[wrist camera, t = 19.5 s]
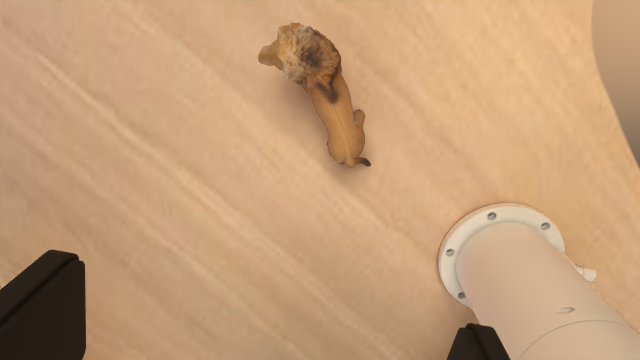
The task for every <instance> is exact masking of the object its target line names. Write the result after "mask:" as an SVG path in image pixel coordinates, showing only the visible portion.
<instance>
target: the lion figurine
mask: <svg viewBox="0 0 640 360" xmlns="http://www.w3.org/2000/svg"><path fill="white" fill-rule="evenodd" d="M258 60H259V62H260V63H261V64H265V65H267V66H272V65H275V66H276V68H278V69H280V70H283V71H284V73H285V74H286V77H287V78H288V79H292V80H293V81H294V82H297V84H300V85H302V87H303V88H304V89H305V90H306V91H307V92H309V93H310V94H311V98H312V101H313V104H314V107H315V109H316V111H317V113H318V115H319V116H320V118H321V120H322V121H323V123H324V124H325V126H326V127H327V129H328V132H329V139H328V142H327V145H328V150H329V154H330V155H331V157H332V158H333V159H334V160H335V161H337V162H338V163H339V164H344V163H346V165H347V166H348V167H350V168H354V167H355V165H356V164H357V163H362V164H364V165H365V166H371V163H370V162H369V161H368V160H367V159H366V158H361V157H359V158H357V157H358V156H359V155H360V154H361V152H362V150H363V148H364V144H365V136H364V131H363V122H364V118H365V114H364V112H363V111H362V110H357V111H355V112H353V109H352V104H351V98H350V94H349V90H348V87H347V85H346V82H345V80H344V79H343V77H342V75H341V71H342V68H341V56H340V54H339V52H338V50H337V49H336V48H335V46H334V44H333V43H332V42H331V41H330V40H328V39H327V38H326V36H323V35H322V34H320V32H319V31H317V30H313V29H312V27H310V26H308V27H305V26H303V25H300V24H299V23H291V24H290V25H288V26H282V27H279V30H278V39H277V40H276V41H274V42H273V43H272V45H270V46H265V47H264V48H263V49H262V50H261V52H260V53H259V55H258Z"/></svg>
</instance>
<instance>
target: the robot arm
mask: <svg viewBox="0 0 640 360" xmlns="http://www.w3.org/2000/svg"><path fill="white" fill-rule="evenodd" d="M489 213H490V214H489ZM438 270H439V273H440V277H441V279H442V281H443V284H444V286H445V288H446V289H447V291H448V292H449V293H450V295H451V296H452V297H453V298H454V299H456V300H457V301H458V302H460V303H462V304H463V305H465V306H467V307H470V308H472V309H473V311H474V313H475V315H476V317H477V320H478V322H479V324H480V325H479V324H473V323H468V324H467V325H466V327H465V328H460V329H459V330H458V332H457V334H456V337H455V340H454V342H453V345H452V347H451V350H450V352H449V355H448V357H447V360H640V334H639V333H638V332H637V331H636V330H635V329H634V328H633V327H632V326H631V325H630V324H629V323H628V322H627V321H626V320H625V319H624V318H623V317H622V316H621V315H620V314H619V313H618V312H617V311H616V310H615V309H614V308H613V307H612V305H611V304H610V303H609V302H608V301H607V300H606V299H605V298H604V297H603V296H602V295H601V294H600V293H599V292H598V291H597V290H596V289H595V288H594V287H593V286H592V285H591V284H590V283H589V282H594V281H595V280H596V271H595V270H594V269H592V268H587V267H581V266H579V267H578V266H576V265H575V264H574V263H573V262H572V261H571V260H570V259H569V258H568V257H567V256H566V255H565V246H564V240H563V238H562V235H561V233H560V231H559V229H558V228H557V227H556V225H555V224H554V223H553V222H552V221H551V220H550V219H549V218H548V217H547V216H546V215H544V214H543V213H542V212H540V211H539V210H537V209H535V208H532V207H530V206H527V205H523V204H518V203H498V204H492V205H488V206H485V207H482V208H479V209H477V210H475V211H473V212H471V213H469V214H467V215H466V216H465V217H463V218H462V219H461V220H459V221H458V222H457V223H456V224H455V225H454V226H453V227H452V228H451V229H450V230H449V232H448V234H447V235H446V237H445V238H444V240H443V242H442V245H441V247H440V250H439V256H438ZM85 350H86V309H85V264H84V262H83V261H79V257H78V255H77V254H74V253H68V252H63V251H57V250H49V251H47V252H46V253H44V254H43V255H42V256H41V257H40V258H38V259H37V260H36V261H35V262H33V263H32V264H31V265H30V266H29V267H27V268H26V269H25V270H24V271H23V272H21V273H20V274H19V275H18V276H17V277H15V278H14V279H13V280H12V281H10V282H9V283H8V284H7V285H6V286H4V287H3V288H2V289H1V290H0V360H82V359H83V357H84V354H85Z"/></svg>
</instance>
